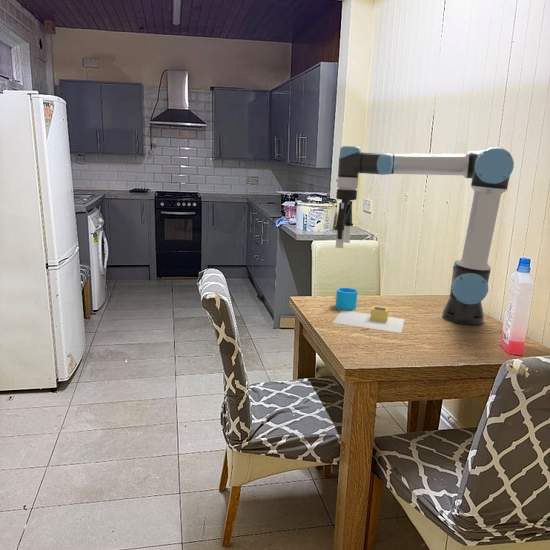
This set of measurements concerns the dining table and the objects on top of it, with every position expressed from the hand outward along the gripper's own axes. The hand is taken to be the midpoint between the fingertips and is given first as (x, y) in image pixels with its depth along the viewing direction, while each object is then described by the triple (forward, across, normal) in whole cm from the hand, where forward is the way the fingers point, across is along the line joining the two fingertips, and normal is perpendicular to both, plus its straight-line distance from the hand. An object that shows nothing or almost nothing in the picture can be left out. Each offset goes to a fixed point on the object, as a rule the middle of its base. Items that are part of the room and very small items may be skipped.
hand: (342, 245), depth 194 cm
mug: (+27, -5, +3) cm, 27 cm away
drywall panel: (+26, +10, +14) cm, 32 cm away
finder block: (+25, +6, +17) cm, 31 cm away
